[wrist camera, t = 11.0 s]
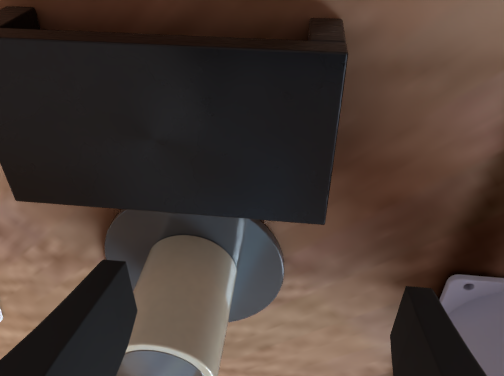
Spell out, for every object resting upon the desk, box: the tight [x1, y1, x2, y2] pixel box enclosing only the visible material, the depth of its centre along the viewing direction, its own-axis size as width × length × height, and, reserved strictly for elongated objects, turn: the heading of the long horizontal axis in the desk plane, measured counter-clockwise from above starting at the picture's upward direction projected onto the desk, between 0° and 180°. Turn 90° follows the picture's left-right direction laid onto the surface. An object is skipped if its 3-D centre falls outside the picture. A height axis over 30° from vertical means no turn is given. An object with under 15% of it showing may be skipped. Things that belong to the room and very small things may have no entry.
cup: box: [116, 235, 237, 376], centre depth 22 cm, size 5×5×6 cm
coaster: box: [105, 209, 284, 322], centre depth 25 cm, size 10×10×1 cm
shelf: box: [0, 7, 348, 225], centre depth 18 cm, size 13×7×4 cm, turn 90°
